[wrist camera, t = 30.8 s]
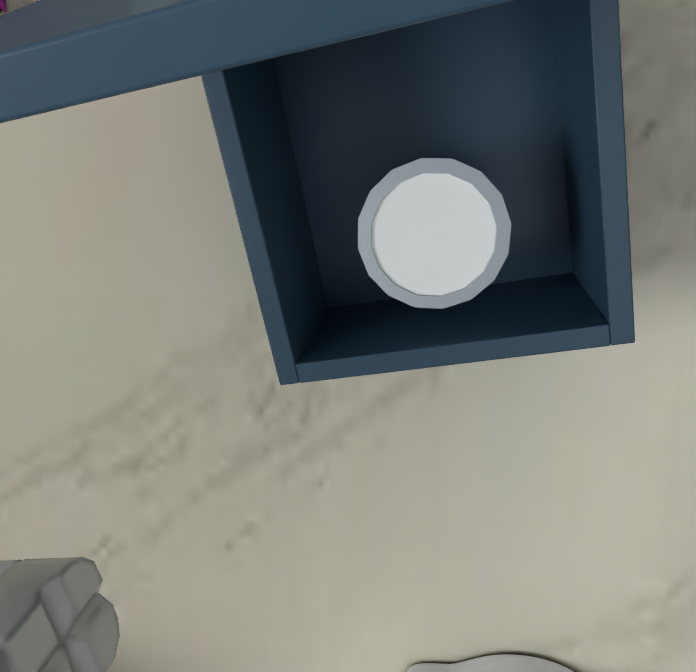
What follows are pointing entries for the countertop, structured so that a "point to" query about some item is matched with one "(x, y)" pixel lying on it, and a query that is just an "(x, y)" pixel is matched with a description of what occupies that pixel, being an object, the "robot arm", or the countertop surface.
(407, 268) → the shot glass
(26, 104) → the lid
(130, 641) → the countertop surface
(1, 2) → the candy bar box
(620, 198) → the dark blue open box
